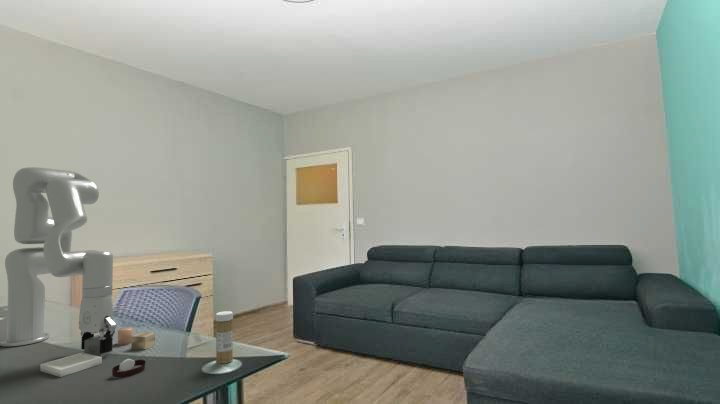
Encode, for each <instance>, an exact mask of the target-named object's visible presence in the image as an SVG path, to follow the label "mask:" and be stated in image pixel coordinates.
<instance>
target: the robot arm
mask: <svg viewBox="0 0 720 404" xmlns="http://www.w3.org/2000/svg"><path fill="white" fill-rule="evenodd" d="M12 179H13V180H12V188H13V189H12V190H13V194H14V198H15V203H16V204H15V205H16V208H15V218H14V225H13V226H14V229H13V236H14V240H15V242H16V243H19V244H21V245H22V244H23V245H40V244H41V245H43V246H41V247H40V246H37V247H26V248H25V247H24V248H18V249H17V248H16V249H14V250H12V251H11V252H9V253H7V255H6V256H5V259H4V266H5V273H6V276H7V318H6V338H3V339H2V340H0V346H1V347H5V348H6V347H18V346H25V345H30V344H35V343H39V342H42V341H45V340H47V339H49V338H50V332H46V331H45V303H46V302H45V300H46V297H45V295H46V293H45V292H46V288H45V284H44V283H43V281H42V280H41V279H40V278H39V277H38V276H40V275H47V274H51V275H52V276H53V277H55V278H68V277H77V276H82V290H81V292H82V294H81V295H82V296H81V303H80V308H79V316H78V317H79V318H78V329H79V330H80V337H81V342H80V343H81V344H80V345H81V347H80V349H81V350H83V351H84V343H85V340H87V339H89V338H92V337H94V336H95V334H97V333H99V335H100V336H101V339H102V340H100V354H103V353H106V352H110V351H112V352H113V350H112V338H113V339H114V334H115V332H116V328H117V324H116V323H115V321H114V305H113V298H112V297H113V275H114V274H113V269H114V267H113V266H114V255H113V252H111V251H101V250H92V249H91V250H76V251H75V250H72V251H71V247H72V239H73V238H72V237H73V230H74V231H75V230H77V229H79V228H80V227H83V226H84V225H85V224H86V223H87V221H88V217H87V213H86V210H85V207H84V206H85V205H94V204H95V203H96V202H97V201H98V199H99V195H100V194H99V193H100V192H99V188H98V186H97V184H96V183H95V182H94V181H93V180H91V179H89V178H88V177H86V176H84V175H82V174H81V173H78V172H76V171H71V170H65V169H63V170H62V169H54V168H48V167H47V168H46V167H35V166H34V167H29V166H28V167H23V168H20V169H19V170H17V171H16V172H15V174H14V176H13V178H12ZM43 194H46V196H47V197H45V196H44V195H43ZM49 208H50V212H51V216H49ZM110 353H111V352H110Z"/></svg>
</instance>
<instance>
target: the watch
mask: <svg viewBox="0 0 720 404" xmlns="http://www.w3.org/2000/svg"><path fill="white" fill-rule="evenodd" d="M146 363H147V362H146V360H144V359H135V360H133V359H131V358H126V359H124V360H122V362H121V363H119V364H118V365H116V366H113V367H112V370H111V372H112V373H111V375H112V377H114V378H125V377H129V376H132V375H136V374H138V373H141V372H143V371H145V369H146ZM137 366H138V367H137ZM133 367H135V368H133Z"/></svg>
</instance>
